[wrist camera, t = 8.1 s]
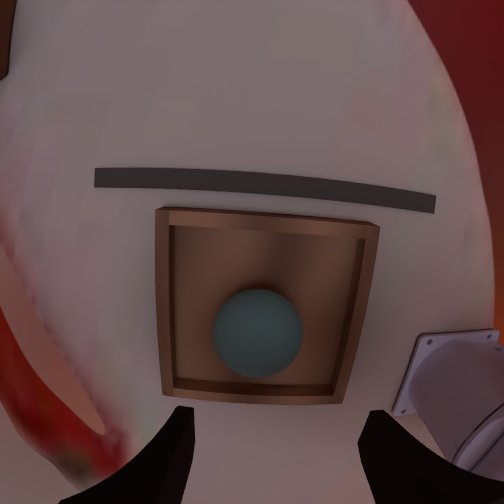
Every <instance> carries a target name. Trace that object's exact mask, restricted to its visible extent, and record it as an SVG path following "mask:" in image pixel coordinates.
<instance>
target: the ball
mask: <svg viewBox="0 0 504 504" xmlns="http://www.w3.org/2000/svg"><path fill="white" fill-rule="evenodd" d="M212 337H213V343H214V347H215V350H216V352H217V354H218V356H219V357H220V359H221V360H222V362H223V363H224V364H225V365H226V366H227V367H228V368H230V369H231V370H233V371H234V372H236V373H238V374H240V375H243V376H246V377H251V378H264V377H269V376H272V375H275V374H277V373H279V372H281V371H283V370H284V369H285V368H287V367H288V366H289V365H290V364H291V363H292V362H293V361H294V359H295V358H296V356H297V355H298V353H299V350H300V348H301V345H302V340H303V327H302V322H301V319H300V316H299V314H298V312H297V310H296V309H295V307H294V306H293V305H292V304H291V303H290V302H289V301H288V300H287V299H286V298H285V297H283V296H282V295H280V294H278V293H276V292H273V291H270V290H266V289H250V290H245V291H242V292H239V293H237V294H235V295H234V296H232V297H231V298H230V299H228V300H227V301H226V302H225V303H224V304H223V305H222V307H221V308H220V309H219V311H218V313H217V315H216V317H215V320H214V324H213V330H212Z"/></svg>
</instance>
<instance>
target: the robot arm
mask: <svg viewBox="0 0 504 504" xmlns="http://www.w3.org/2000/svg"><path fill="white" fill-rule="evenodd" d="M499 334H500V332H499V331H498V330H497V329H491V330H481V331H470V332H457V333H443V334H425V335H422V336H420V337H419V339H418V341H417V344H416V347H415V350H414V353H413V357H412V360H411V363H410V365H409V368H408V371H407V374H406V377H405V380H404V382H403V385H402V388H401V390H400V393H399V395H398V398H397V400H396V403H395V405H394V408H393V410H392V413H393V415H394V416H402V415H408V414H415V413H418V414H419V416H420V417H421V419H422V420H423V422H424V424H425V425H426V427H427V428H428V430H429V432H430V433H431V435H432V437H433V438H434V440H435V442H436V443H437V445H438V446H439V448H440V450H441V451H442V453H443V455H444V457H445V458H446V460H445V459H443V458H442V457H440V456H438V455H437V454H435V453H434V452H433V451H431V450H430V449H428V448H427V447H426V446H424V445H423V444H422V443H421V442H419V441H418V440H417V439H416V438H415V437H413V436H412V435H411V434H410V433H409V432H408V431H406V430H405V429H404V428H403V427H402V426H401V425H400V424H399V423H398V422H397V421H395V420H394V419H393V418H392V417H391V416H390V415H389V414H388V413H387V412H385V411H384V410H374V411H370V413H369V416H368V418H367V421H366V423H365V426H364V428H363V431H362V433H361V435H360V438H359V440H358V442H357V443H358V448H359V454H360V458H361V463H362V466H363V469H364V472H365V474H366V477H367V480H368V483H369V486H370V489H371V491H372V494H373V497H374V500H375V503H376V504H504V346H502V345H501V344H500V343H499V342H497V340H498V337H499ZM429 339H430V341H429V342H428V340H429ZM402 410H403V411H402ZM194 446H195V425H194V408H192V407H185V406H177V407H176V408H175V410H174V411H173V413H172V415H171V416H170V417H169V419H168V420H167V422H166V423H165V424H164V426H163V427H162V428H161V429H160V431H159V432H158V433H157V434H156V435H155V437H154V438H153V439H152V440H151V441H150V442H149V443H148V444H147V445H146V446H145V447H144V448H143V449H142V450H141V451H140V452H139V453H138V454H137V455H136V456H135V457H134V458H133V459H132V460H131V461H130V462H128V463H127V464H126V465H125V466H123V467H122V468H121V469H119V470H118V471H117V472H115V473H114V474H113V475H111V476H110V477H108V478H107V479H105V480H103V481H102V482H100V483H98V484H96V485H94V486H93V487H91V488H89V489H87V490H85V491H83V492H81V493H78V494H76V495H73V496H71V497H69V498H66V499H63V500H61V501H60V502H59V503H58V504H181V501H182V497H183V494H184V490H185V486H186V483H187V479H188V475H189V472H190V468H191V464H192V460H193V453H194Z"/></svg>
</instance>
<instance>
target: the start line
mask: <svg viewBox="0 0 504 504" xmlns="http://www.w3.org/2000/svg"><path fill="white" fill-rule="evenodd" d="M94 187H113V188H162V189H189V190H210V191H227V192H243V193H257V194H270V195H282V196H294V197H305V198H315V199H325V200H334V201H343V202H352V203H361V204H369V205H377V206H385V207H392V208H399V209H406V210H413V211H420V212H427V213H433V214H434V211H435V202H436V196H434V195H429V194H424V193H418V192H412V191H406V190H400V189H394V188H388V187H381V186H374V185H367V184H360V183H353V182H345V181H337V180H328V179H320V178H311V177H301V176H291V175H280V174H268V173H255V172H240V171H223V170H203V169H173V168H95V180H94Z"/></svg>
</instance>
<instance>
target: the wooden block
mask: <svg viewBox="0 0 504 504" xmlns="http://www.w3.org/2000/svg"><path fill="white" fill-rule="evenodd" d="M15 2H16V0H0V79H1V78H3V77H4V76H5V75H6V74H7V69H8V54H9V43H10V34H11V27H12V20H13V13H14V8H15Z"/></svg>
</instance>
